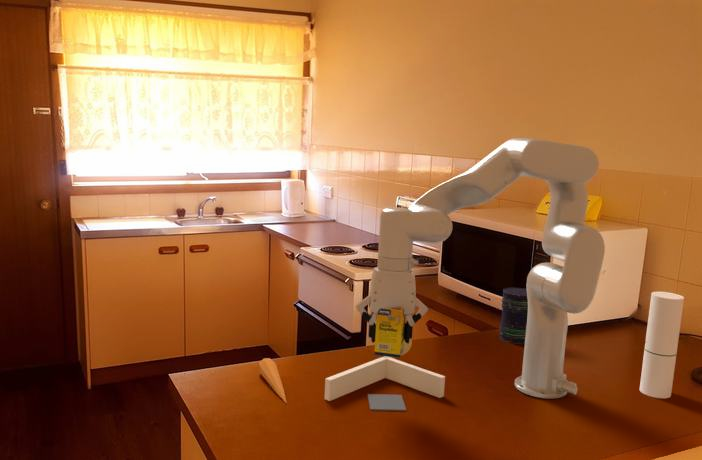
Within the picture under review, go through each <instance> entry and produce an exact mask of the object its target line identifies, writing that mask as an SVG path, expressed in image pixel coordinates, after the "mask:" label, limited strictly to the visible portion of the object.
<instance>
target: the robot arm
mask: <svg viewBox="0 0 702 460" xmlns="http://www.w3.org/2000/svg"><path fill="white" fill-rule="evenodd" d="M599 164H600V163H599V158H598V156H597V154H596V153H595V152H594V150H592V149H591V148H589V147H587V146H584V145H577V144H570V143H563V142H556V141H552V140H551V141H550V140H546V139H541V138H530V137H514V138H509V139H508V140H506V141H505V142H503V143H502V144H501V145H499V146H497V148H495V149H494V150H493V151H491V152H490V153H489V154H487V155H486V156H485V157H483V158H482V159H481V160H479V161H478V162H477V163H476V164H475V165H473V166H472V167H470V168H469V169H468V170H466V171H464V172H462V173H461V174H459V175H456V176H454V177H452V178H451V179H448V180H447V181H445V182H442V183H441V184H438V185H436V186H435V187H433V188H432V189H430V190H428V191H426V192H425V193H424V194H423V195H421V196H419V198H417V200H415V201H414V202H413V203H411V204H410V205H409V206H408V207H406V208H405V207H397V206H391V207H385V208H384V209H382V210H381V212H380V216H379V231H378V232H379V233H378V249H377V266H376V267H374V268H373V269H372V274H371V278H370V285H369V286H370V287H369V295H367V296H366V297H364V298H363V299H362V300H361V301H359V302H358V303H357V304H355V309H356V310H357V312H359V314H360V315H361V317H362V318H363V319H364V320H365V321H366V322H367V323H368V336H367V337H368V338H370V340H371V342H372V343H375V334H376V324H375V321H376V318H377V311H378V310H379V309H381V308H391V309H404V315H405V316H406V321H405V333H404V340H405V342H406V343H409V339H412V340H413V327H414V326H415V324H416V323H417V322H419V321H420V320H421V319H422V318H423V316H424V315H425V314H426V313H427V312H428V310H429V309H428V306H427V305H425V304H424V303H423V302H422V301H421V300H420V299H418V298H417V296H416V294H417V293H416V291H417V290H416V276H415V269H413V267H414V266H415V267H416V266H419V259H416V258H414V257H413V251H414V250H413V248H414V242H420V243H427V244H439V243H442V242H444V241H446V240H447V239H449V237H450V236H451V234H452V231H453V221H452V220H451V218H450V216H449V214H451V213H453V212H455V211H458V210H461V209H463V208H468V207H474V206H475V207H476V206H479V205H482V204H483V205H484V204H487V203H489V202H490V201H492V200H493V199H495V198H496V197H497V196H498V195H499V194H501V193H502V192H504V191H505V189H507V188H508V187H510V186H511V185H513V184H514V183H516V181H517V180H519V179H520V178H522V177H526V178H534V179H539V180H544V181H545V182H546V184H547V186H548V189H549V193H550V194H549V195H550V202H549V207H548V212H547V216H546V221H545V225H544V229H543V232H542V239H541V246H542V249H543V251H544V253H545V254H547V255H548V256H550V257H552V258H553V259H555V260H556V259H557V260H559V261H561V262H564V263H563V265H560V264H557V263H554V262H540V263H539V264H536V265H535V266H533V267H532V268H531V270H530V271H529V273H528V274H527V277H526V284H525V285H526V289H527V299H528V315H527V326H526V336H525V344H524V348H523V349H524V350H523V359H522V368H521V369H522V371H521V375H519V376H518V377H516V378H515V379H514V386H515V388H516V389H517V390H518V391H519V392H521V393H523V394H526V395H529V396H530V397H534V398H538V399H539V398H540V399H551V400H552V399H559V398H563V397H565V396H566V395H567V394H573V395H576V394H577V392H578V386H577V383H576V382H573V381H570V380H569V381H568V379H567V374H566V373H564V363H565V353H566V342H567V333H568V326H569V325H568V324H569V321H568V320H569V317H568V313H569V314H580V313H583V312H584V311H586V310H587V309H588V308H589V307H590V305H591V303H592V302H593V300H594V297H595V294H596V291H597V287H598V283H599V279H600V275H601V271H602V267H603V263H604V258H605V249H606V247H605V241H604V240H605V239H604V238H603V236H602V234H601V232H600V231H599V230H597V228H595V227H593V226H591V225H587V224H586V218H587V217H586V216H587V212H588V211H587V210H588V203H589V195H588V194H589V193H588V190H587V187H586V183H589V182H590V181H591V180H593V179H594V178H595V176H596V175H597V173H598V171H599V166H600V165H599ZM366 306H368V307H369V309H370V313H368V311H366V309H365V307H366ZM416 307H417V308H418V310H417V312H415V311H416Z"/></svg>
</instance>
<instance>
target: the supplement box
mask: <svg viewBox="0 0 702 460" xmlns="http://www.w3.org/2000/svg"><path fill="white" fill-rule="evenodd" d="M406 321H407V318H406V316H405V315H404V309H391V308H381V309H379V310H378V311H377V318H376V334H375V342H374V352H373V354H374V356H381V357H384V356H388V357H395V359H396V358H398V359H400V358H401V356H400V355H401V353H402V351H403V349H404V333H405V323H406Z"/></svg>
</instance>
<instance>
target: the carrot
mask: <svg viewBox="0 0 702 460" xmlns="http://www.w3.org/2000/svg"><path fill="white" fill-rule="evenodd" d="M276 363H277V362H275V361H274V360H272V359H271V358H269V357H268V358H263V359H262V360H260V361H259V363H258V364H259V365H258V372H259V374H260V375H261V376H262V377H263V378H264V379H265V380H266V383H268V384H269V386H270V387H271V388H272V390H273V391H274V392H275V393H276V395H278V397H279V398H281V399H282V401H283V402H284V403H285V404H288V403H287V399H286V394H285V389H284V386H283V383H282V379H281V376H280V373H279V370H278V367H277V364H276Z"/></svg>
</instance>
